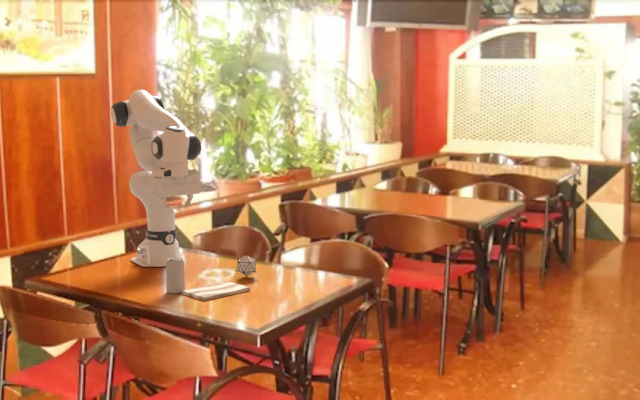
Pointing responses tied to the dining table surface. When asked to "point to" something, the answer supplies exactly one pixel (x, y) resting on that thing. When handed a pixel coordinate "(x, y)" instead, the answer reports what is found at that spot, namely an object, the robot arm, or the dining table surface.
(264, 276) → the dining table surface
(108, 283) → the dining table surface
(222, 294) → the board
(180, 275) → the beverage can
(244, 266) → the game die
